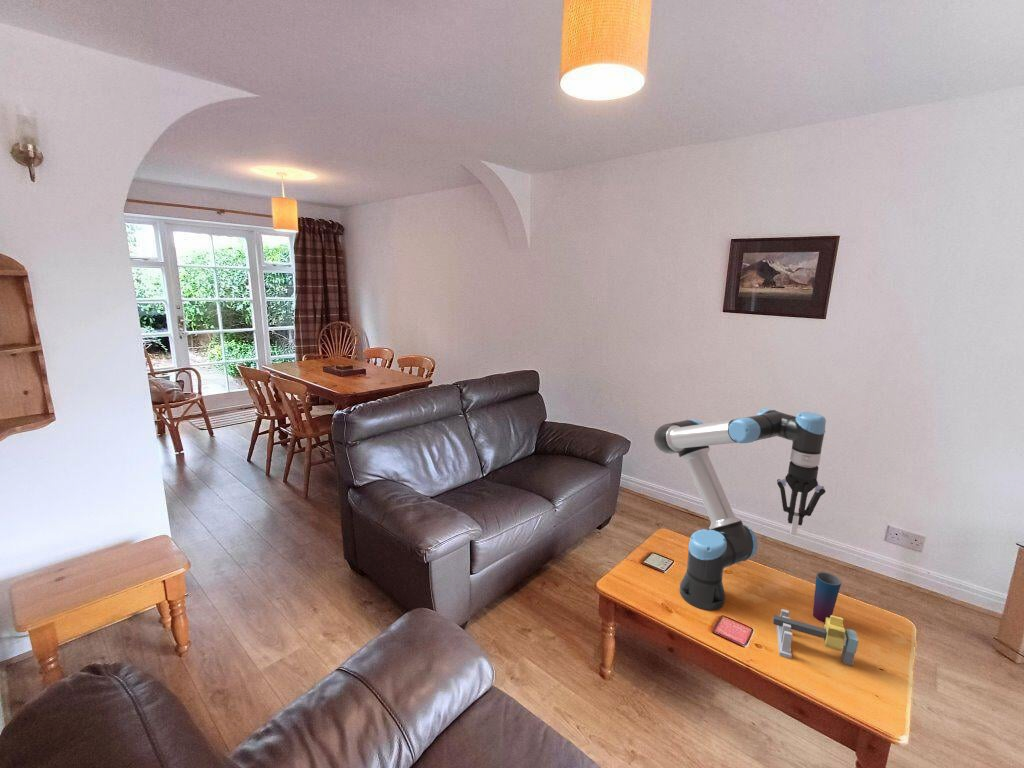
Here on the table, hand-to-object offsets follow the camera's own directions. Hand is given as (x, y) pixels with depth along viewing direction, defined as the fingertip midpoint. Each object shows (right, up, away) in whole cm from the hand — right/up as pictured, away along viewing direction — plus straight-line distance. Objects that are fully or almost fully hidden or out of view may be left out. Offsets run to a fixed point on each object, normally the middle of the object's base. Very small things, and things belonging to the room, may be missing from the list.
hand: (793, 532), depth 145 cm
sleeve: (+7, -30, -8) cm, 32 cm away
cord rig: (+3, -34, -5) cm, 35 cm away
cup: (+15, -31, +9) cm, 36 cm away
